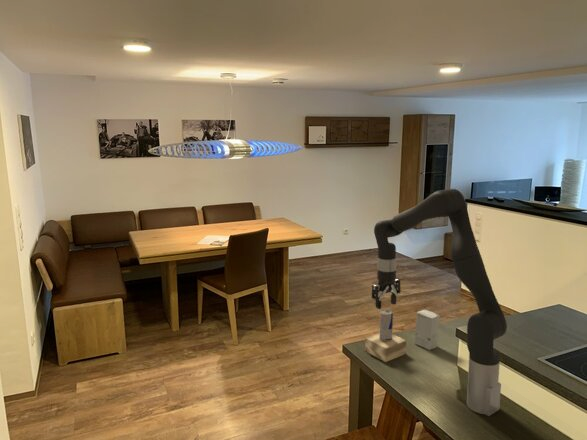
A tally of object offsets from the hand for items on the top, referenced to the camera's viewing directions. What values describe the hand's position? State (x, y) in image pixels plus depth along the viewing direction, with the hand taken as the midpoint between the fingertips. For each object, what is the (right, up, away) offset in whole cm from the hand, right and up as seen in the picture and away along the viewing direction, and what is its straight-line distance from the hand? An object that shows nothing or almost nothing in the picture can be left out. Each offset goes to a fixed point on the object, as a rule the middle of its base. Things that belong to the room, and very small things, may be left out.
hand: (386, 306), depth 182 cm
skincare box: (+20, -19, +9) cm, 29 cm away
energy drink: (0, -15, +3) cm, 15 cm away
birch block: (0, -20, +4) cm, 21 cm away
